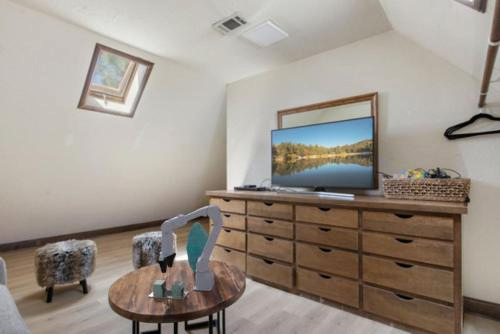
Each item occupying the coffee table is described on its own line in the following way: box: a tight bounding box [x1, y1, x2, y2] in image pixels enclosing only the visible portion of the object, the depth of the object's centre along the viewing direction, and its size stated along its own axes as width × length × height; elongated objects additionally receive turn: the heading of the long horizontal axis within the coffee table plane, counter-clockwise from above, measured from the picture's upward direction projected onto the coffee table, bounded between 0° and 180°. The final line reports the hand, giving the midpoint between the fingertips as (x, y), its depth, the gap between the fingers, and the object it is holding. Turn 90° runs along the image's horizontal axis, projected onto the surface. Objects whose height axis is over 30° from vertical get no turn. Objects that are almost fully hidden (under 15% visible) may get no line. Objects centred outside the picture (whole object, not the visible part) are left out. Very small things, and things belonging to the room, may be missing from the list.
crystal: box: [185, 222, 209, 273], centre depth 160 cm, size 12×14×30 cm
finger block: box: [152, 279, 167, 296], centre depth 130 cm, size 4×5×6 cm
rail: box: [147, 280, 190, 300], centre depth 130 cm, size 18×7×6 cm, turn 84°
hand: (166, 270), depth 136 cm, fingers open, 7 cm apart
